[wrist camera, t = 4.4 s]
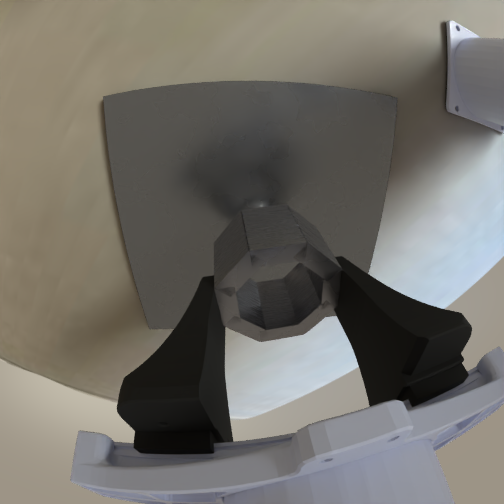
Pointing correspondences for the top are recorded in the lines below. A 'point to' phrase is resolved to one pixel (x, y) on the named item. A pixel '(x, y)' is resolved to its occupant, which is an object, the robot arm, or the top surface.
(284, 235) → the ring
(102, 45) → the top surface
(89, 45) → the top surface
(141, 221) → the stand
